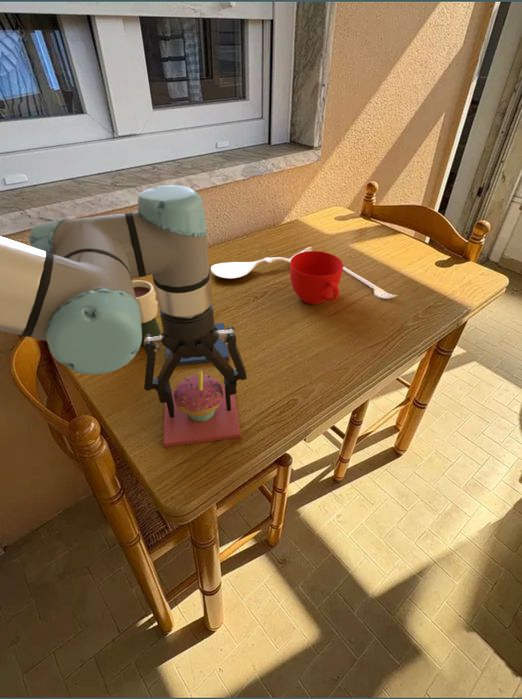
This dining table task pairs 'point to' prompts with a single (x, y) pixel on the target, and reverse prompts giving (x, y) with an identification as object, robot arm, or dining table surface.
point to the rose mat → (201, 425)
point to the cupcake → (198, 396)
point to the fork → (372, 286)
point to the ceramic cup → (315, 276)
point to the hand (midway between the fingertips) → (200, 408)
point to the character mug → (147, 308)
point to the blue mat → (193, 360)
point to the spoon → (244, 266)
